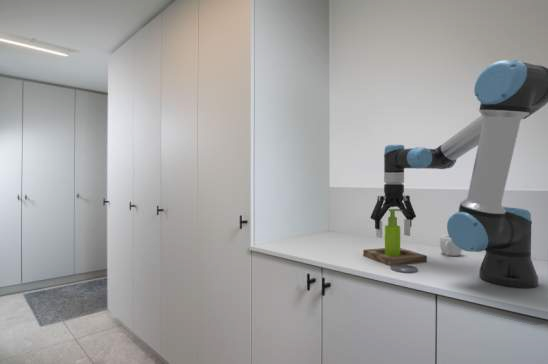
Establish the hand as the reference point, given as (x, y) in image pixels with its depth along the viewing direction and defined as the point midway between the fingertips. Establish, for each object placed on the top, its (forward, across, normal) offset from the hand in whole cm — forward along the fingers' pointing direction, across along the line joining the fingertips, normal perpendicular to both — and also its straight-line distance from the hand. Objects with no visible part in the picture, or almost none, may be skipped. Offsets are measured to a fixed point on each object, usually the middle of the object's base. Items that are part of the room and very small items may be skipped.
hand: (393, 236), depth 132 cm
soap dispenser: (+9, 0, 0) cm, 9 cm away
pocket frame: (+9, 0, 0) cm, 9 cm away
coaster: (+9, +7, +14) cm, 18 cm away
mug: (+9, -26, +3) cm, 28 cm away
